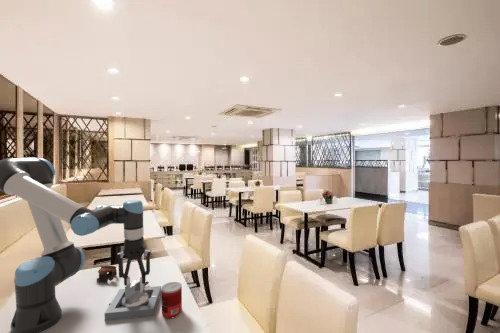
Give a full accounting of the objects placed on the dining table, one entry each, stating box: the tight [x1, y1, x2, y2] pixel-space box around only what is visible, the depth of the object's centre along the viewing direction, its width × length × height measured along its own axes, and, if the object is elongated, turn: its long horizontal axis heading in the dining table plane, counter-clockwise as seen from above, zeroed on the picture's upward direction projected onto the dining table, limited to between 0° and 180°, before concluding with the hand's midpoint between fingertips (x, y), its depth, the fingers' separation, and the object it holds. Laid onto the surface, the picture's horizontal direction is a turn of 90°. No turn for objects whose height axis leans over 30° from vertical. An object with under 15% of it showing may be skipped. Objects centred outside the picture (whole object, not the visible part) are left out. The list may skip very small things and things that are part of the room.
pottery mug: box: [96, 265, 118, 284], centre depth 135 cm, size 12×10×8 cm
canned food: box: [160, 281, 183, 319], centre depth 107 cm, size 8×8×11 cm
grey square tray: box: [104, 285, 162, 322], centre depth 112 cm, size 18×18×3 cm
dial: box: [122, 276, 149, 308], centre depth 112 cm, size 10×10×9 cm
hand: (135, 291), depth 112 cm, fingers closed on dial, 4 cm apart
